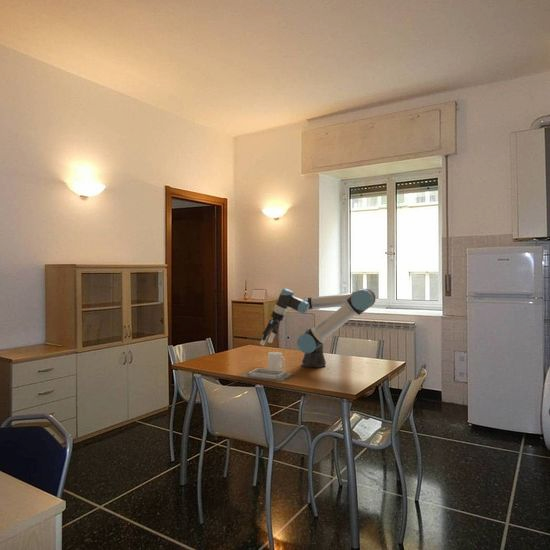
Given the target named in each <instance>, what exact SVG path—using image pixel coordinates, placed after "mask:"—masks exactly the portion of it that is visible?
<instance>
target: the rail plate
mask: <svg viewBox="0 0 550 550" xmlns="http://www.w3.org/2000/svg"><path fill="white" fill-rule="evenodd" d="M292 376H293V373H290V372H289V373H288V372H287V370H282V369H281V370H272V369H268V368H263V367H261V368H260V367H257V368H255V369H253V370H251V371H249V372H246V373H244V374H242V375H240V378H244V379H251V380H260V381H268V380H269V381H271V382H280V383H283V382H284V381H286V380H287V379H289V378H290V377H292ZM269 381H268V382H269Z"/></svg>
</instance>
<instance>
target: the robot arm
mask: <svg viewBox="0 0 550 550" xmlns="http://www.w3.org/2000/svg"><path fill="white" fill-rule="evenodd" d="M376 299H377V298H376V294H375V292H374V291H373V290H371V289H369V288H360V289H356V290H355V291H352V292H351V293H342V294H341V293H339V294H332V295H331V294H330V295H323V296H321V295H320V296H311V297H303V298H299V297H296V296H295V295H294V291H292V290H290V289H288V288H286V287H285V288H282V289H281V292H280V293H279V296H278V299H277V301H276V303H275V304H274V305H273V306H274V308H273V311H271V312H272V313H271V315H270V316H271V318H272V319H270V320H269V322H268V324H267V326H266V327H265V328H264V331H263V332H262V335H263V336H262V338H261V340H260V342H259V345H261V346H263V347H264V346H265V344H266V343H269V344H272V343H273V340H274V338H275V336H276V335H277V334H278V331H279V327H280V323H281V321H283V319H284V317H285V314H286V312H287V310H288V308H290V309H291V310H294V311H295V312H298V313H300V314H303V315H305V314H306V313H307V312H308V311H309V310H316V309H328V308H329V309H330V308H338V309H337V310H336V311H334V313H332V314H331V315H329V317H326V318H325V320H324V321H322V322H321V323H320V324H318V325H317V326H315V327H313V326H312V327H310V328H306V329H305V331H304V333H302V334H300V335H299V337H298V338H297V340H296V346H297V348H298V350H299V351H300V352H301V353H303V357H302V360H301V366H302V365H303V366H302V367H305V366H306V367H305V368H312V367H320V368H324V367H323V366H325V365H326V366H327V362H326V358H325V355H324V344H325V339H326V338H328V337H329V336H330V335H332V334H333V333H335V332H336V331H337V330H338V329H339V328H340V327H342V326H343V325H344V324H346V323H348V321H349V320H351V319H352V318H354V316H360V315H361V314H363V313H364V312H365V311H367V310H368V309H370V308H371V307H372V306H374V305H375V302H376ZM326 366H325V367H326Z"/></svg>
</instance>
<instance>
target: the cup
mask: <svg viewBox="0 0 550 550" xmlns="http://www.w3.org/2000/svg"><path fill="white" fill-rule="evenodd" d="M285 367H286V359H285V357H284V356H283V353H282V352H280V351H270V352H268V353H267V369H272V370H282V369H284V368H285Z"/></svg>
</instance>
